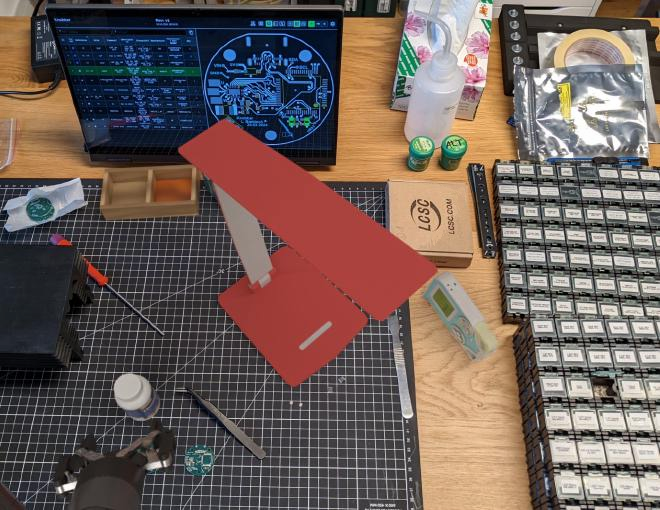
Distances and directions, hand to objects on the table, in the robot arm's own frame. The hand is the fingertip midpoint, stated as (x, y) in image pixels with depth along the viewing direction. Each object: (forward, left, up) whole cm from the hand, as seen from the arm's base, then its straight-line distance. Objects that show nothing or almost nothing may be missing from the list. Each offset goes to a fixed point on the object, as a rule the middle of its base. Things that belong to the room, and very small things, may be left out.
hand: (124, 431), depth 84 cm
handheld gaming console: (+51, +17, -14) cm, 55 cm away
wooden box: (-2, +48, -13) cm, 50 cm away
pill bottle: (-1, +8, -14) cm, 16 cm away
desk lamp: (+25, +20, -14) cm, 35 cm away
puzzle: (+12, +49, -14) cm, 52 cm away
